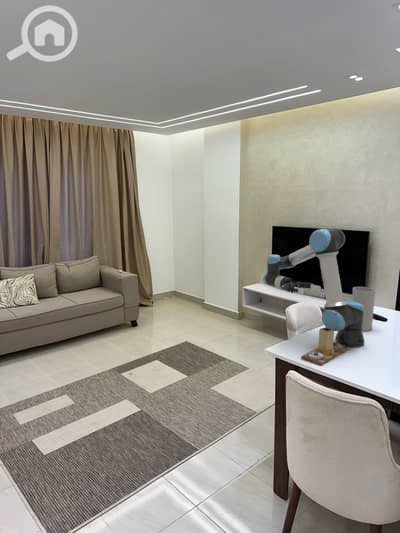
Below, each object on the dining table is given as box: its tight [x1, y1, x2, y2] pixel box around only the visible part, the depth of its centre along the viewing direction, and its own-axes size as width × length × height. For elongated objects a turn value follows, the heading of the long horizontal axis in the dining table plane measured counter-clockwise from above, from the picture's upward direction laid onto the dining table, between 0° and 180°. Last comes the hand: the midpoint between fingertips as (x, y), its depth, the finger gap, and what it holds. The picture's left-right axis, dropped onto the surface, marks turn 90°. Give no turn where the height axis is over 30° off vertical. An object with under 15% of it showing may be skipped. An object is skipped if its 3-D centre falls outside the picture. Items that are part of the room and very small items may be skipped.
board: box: [300, 340, 349, 367], centre depth 190 cm, size 28×11×8 cm, turn 133°
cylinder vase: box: [351, 286, 376, 332], centre depth 229 cm, size 12×12×25 cm
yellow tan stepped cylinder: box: [316, 326, 335, 355], centre depth 189 cm, size 9×9×12 cm
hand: (311, 290), depth 204 cm, fingers open, 13 cm apart
